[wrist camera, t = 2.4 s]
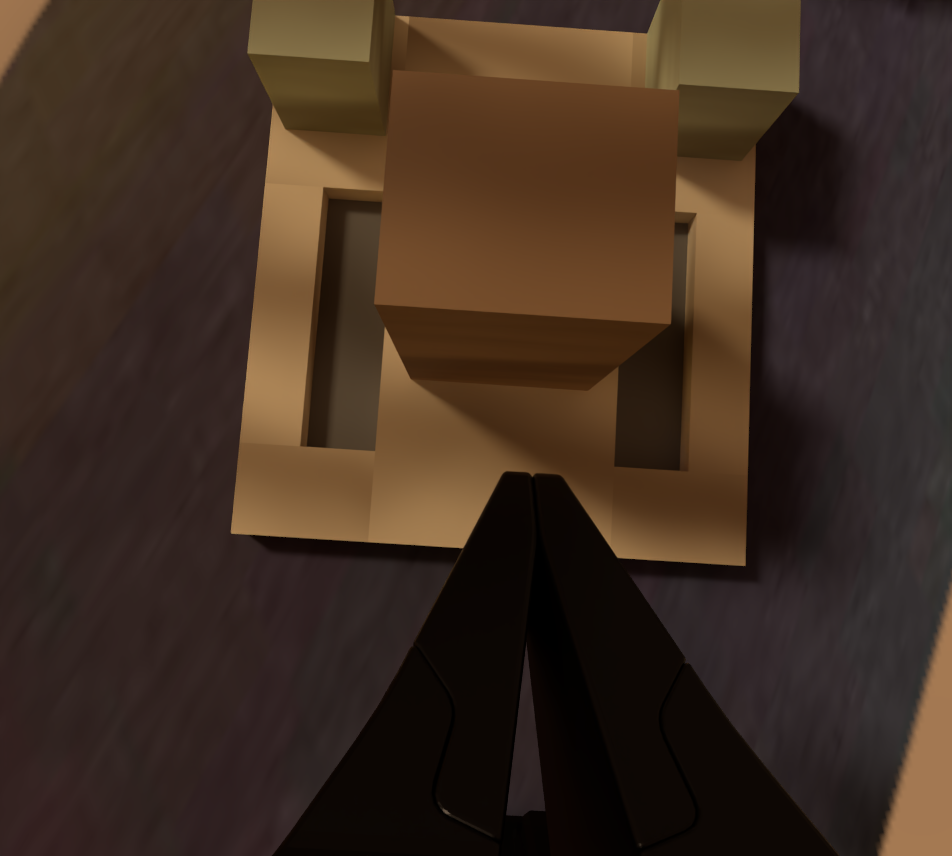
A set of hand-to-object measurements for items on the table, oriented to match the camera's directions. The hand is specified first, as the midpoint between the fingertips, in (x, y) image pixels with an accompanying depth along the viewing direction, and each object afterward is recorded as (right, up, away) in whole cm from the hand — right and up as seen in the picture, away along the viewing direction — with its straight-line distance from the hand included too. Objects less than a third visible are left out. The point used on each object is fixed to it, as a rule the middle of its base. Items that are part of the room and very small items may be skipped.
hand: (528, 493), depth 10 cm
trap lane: (0, +6, +14) cm, 15 cm away
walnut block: (0, +5, +13) cm, 14 cm away
